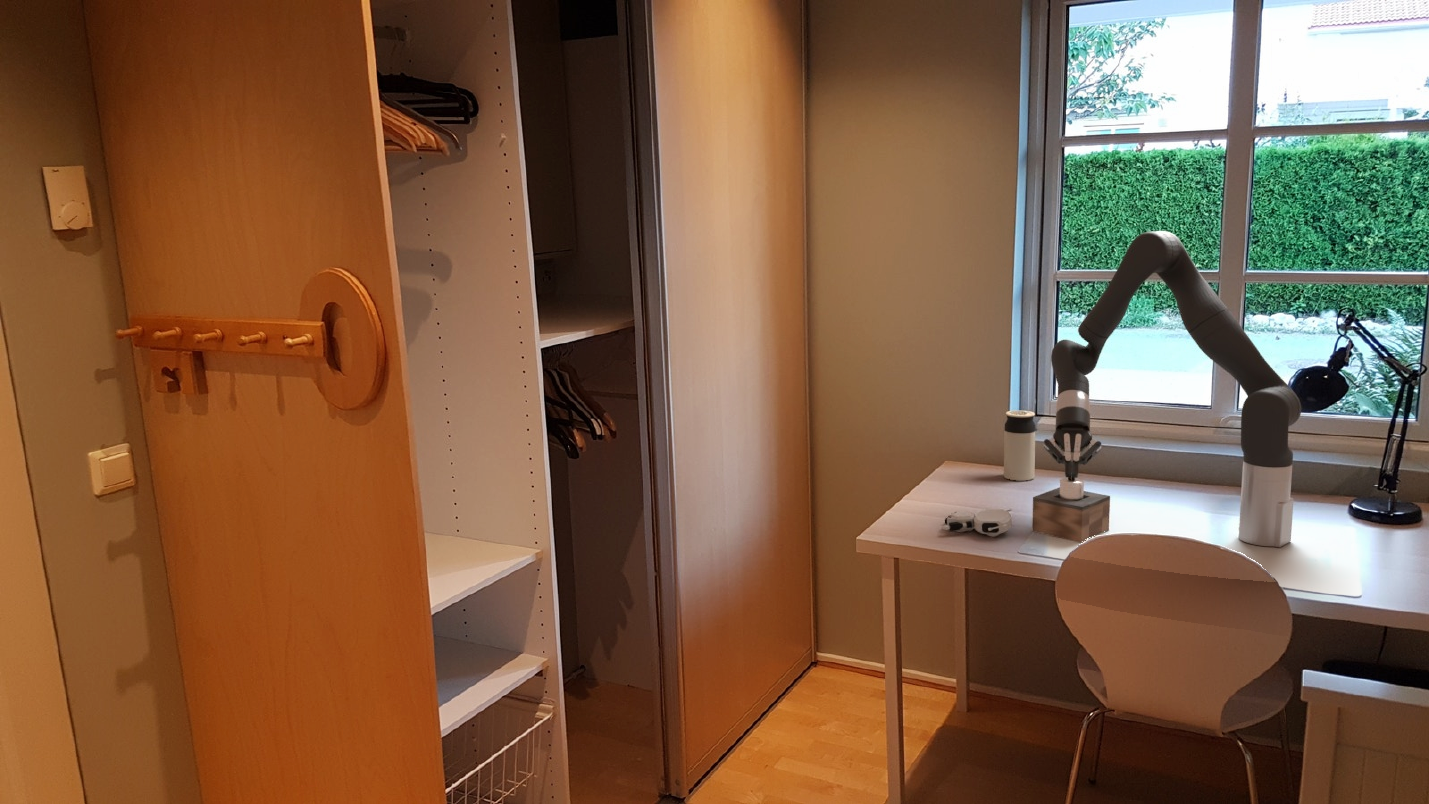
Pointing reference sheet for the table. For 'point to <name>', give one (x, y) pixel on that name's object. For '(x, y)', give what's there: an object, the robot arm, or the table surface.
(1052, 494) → the band block
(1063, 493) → the peg
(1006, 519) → the robot toy
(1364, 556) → the table surface
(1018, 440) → the travel mug
